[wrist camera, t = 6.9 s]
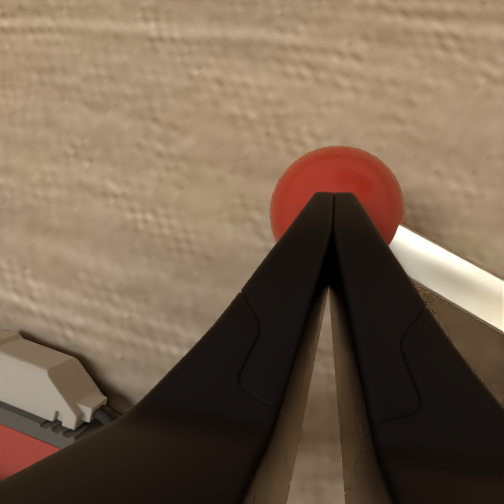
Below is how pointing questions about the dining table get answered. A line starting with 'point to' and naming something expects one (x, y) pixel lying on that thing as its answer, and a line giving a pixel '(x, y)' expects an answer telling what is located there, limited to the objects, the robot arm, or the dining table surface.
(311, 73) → the dining table surface
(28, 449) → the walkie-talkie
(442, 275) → the switch lever
